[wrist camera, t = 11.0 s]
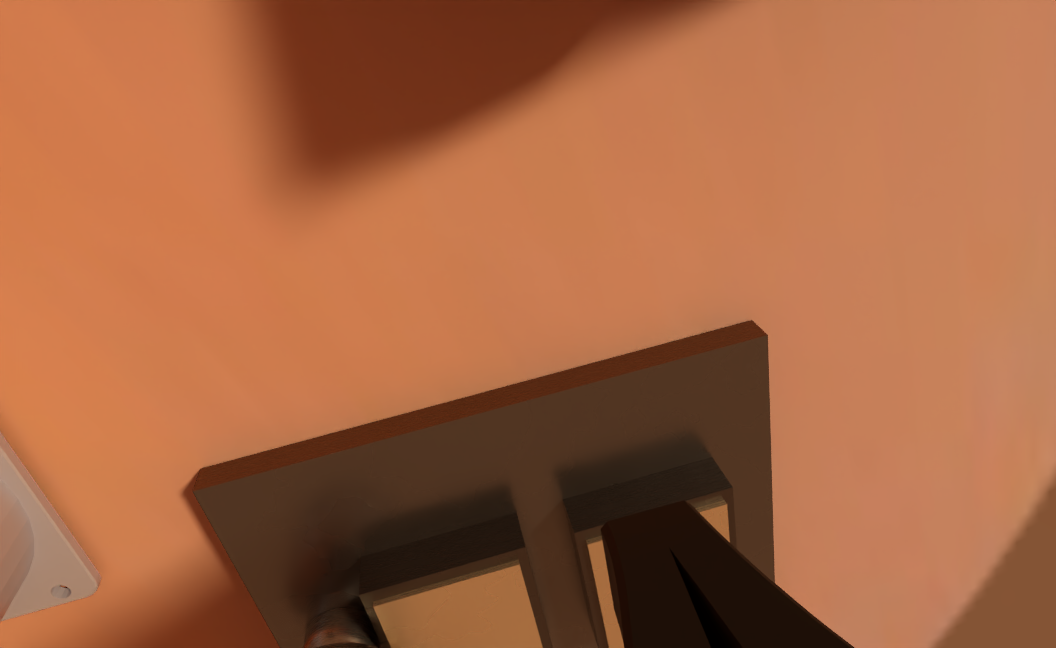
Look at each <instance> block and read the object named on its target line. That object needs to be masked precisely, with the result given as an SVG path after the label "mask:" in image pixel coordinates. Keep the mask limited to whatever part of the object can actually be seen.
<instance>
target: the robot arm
mask: <svg viewBox="0 0 1056 648" xmlns="http://www.w3.org/2000/svg"><path fill="white" fill-rule="evenodd" d="M601 535H602V541H603V547H604V553H605V559H606V565H607V570H608V576H609V582H610V588H611V594H612V600H613V606H614V611H615V614H616V617H617V621H618V624H619V627H620V631H621V635H622V639H623V643H624V648H854V647H853V646H852V645H850V644H849V643H848V642H846V641H845V640H844V639H843V638H841V637H840V636H839V635H837V634H836V633H835V632H833V631H832V630H831V629H829V628H828V627H827V626H826V625H824V624H823V623H822V622H821V621H819V620H818V619H817V618H816V617H814V616H813V615H812V614H811V613H810V612H808V611H807V610H806V609H805V608H803V607H802V606H801V605H800V604H799V603H798V602H796V601H795V600H794V599H793V598H792V597H790V596H789V595H788V594H787V593H786V592H785V591H783V590H782V589H781V588H780V587H779V586H777V585H776V584H775V583H774V582H773V581H772V580H770V579H769V578H768V577H767V576H766V575H765V574H764V573H762V572H761V571H760V570H759V569H758V568H757V567H756V566H755V565H753V564H752V563H751V562H750V561H749V560H748V559H747V558H746V557H745V556H744V555H743V554H741V553H740V552H739V551H738V550H737V549H736V548H735V547H734V546H733V545H732V544H731V543H730V542H729V541H728V540H726V539H725V538H724V537H723V536H722V535H721V534H720V533H719V532H718V531H717V530H716V529H715V528H714V527H713V526H712V525H711V524H710V523H709V522H708V521H707V520H706V519H705V518H704V517H703V516H702V515H701V514H700V513H699V512H698V511H697V510H696V509H695V508H694V507H693V506H692V504H690V503H688V502H686V501H685V500H683V501H679V502H676V503H672V504H669V505H665V506H661V507H658V508H654V509H650V510H647V511H643V512H640V513H636V514H632V515H629V516H625V517H621V518H618V519H614V520H611V521H607V522H606V523H605V524H604V526H603V527H602V528H601ZM100 582H101V576H100V573H99V572H98V571H97V569H96V568H95V566H94V565H93V563H92V562H91V561H90V559H89V558H88V556H87V555H86V553H85V552H84V551H83V549H82V548H81V546H80V545H79V543H78V542H77V541H76V539H75V538H74V536H73V535H72V533H71V532H70V531H69V529H68V528H67V526H66V525H65V523H64V522H63V521H62V519H61V518H60V516H59V515H58V513H57V512H56V511H55V509H54V508H53V506H52V505H51V503H50V502H49V501H48V499H47V498H46V496H45V495H44V493H43V492H42V491H41V489H40V488H39V486H38V485H37V483H36V482H35V481H34V479H33V478H32V476H31V475H30V473H29V472H28V471H27V469H26V468H25V466H24V465H23V463H22V462H21V461H20V459H19V458H18V456H17V455H16V453H15V452H14V451H13V449H12V448H11V446H10V445H9V443H8V442H7V441H6V439H5V438H4V436H3V435H2V433H1V432H0V622H1V621H4V620H8V619H11V618H15V617H18V616H22V615H25V614H29V613H33V612H36V611H40V610H43V609H47V608H50V607H54V606H58V605H61V604H65V603H68V602H72V601H75V600H79V599H83V598H86V597H89V596H91V595H93V594H94V593H95V592H96V591H97V589H98V587H99V584H100ZM59 585H62V586H66V587H68V588H63V587H60V586H59Z"/></svg>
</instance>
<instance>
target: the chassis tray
mask: <svg viewBox="0 0 1056 648" xmlns="http://www.w3.org/2000/svg"><path fill="white" fill-rule="evenodd" d="M193 493H194V495H195V497H196V499H197V500H198V502H199V504H200V506H201V507H202V509H203V511H204V513H205V515H206V516H207V518H208V520H209V522H210V523H211V525H212V527H213V529H214V531H215V532H216V534H217V536H218V538H219V539H220V541H221V543H222V545H223V547H224V548H225V550H226V552H227V554H228V555H229V557H230V559H231V561H232V563H233V564H234V566H235V568H236V570H237V572H238V573H239V575H240V577H241V579H242V580H243V582H244V584H245V586H246V588H247V589H248V591H249V593H250V595H251V596H252V598H253V600H254V602H255V604H256V605H257V607H258V609H259V611H260V612H261V614H262V616H263V618H264V620H265V621H266V623H267V625H268V627H269V629H270V630H271V632H272V634H273V636H274V637H275V639H276V641H277V643H278V645H279V646H280V648H316V647H319V646H323V645H328V644H334V643H349V642H350V643H361V644H368V645H371V646H375V647H378V648H624V643H623V639H622V635H621V631H620V627H619V624H618V621H617V617H616V614H615V611H614V606H613V600H612V594H611V588H610V582H609V576H608V570H607V565H606V559H605V553H604V547H603V541H602V535H601V528H602V527H603V526H604V524H605V523H606V522H607V521H611V520H614V519H618V518H621V517H625V516H629V515H632V514H636V513H640V512H643V511H647V510H650V509H654V508H658V507H661V506H665V505H669V504H672V503H676V502H679V501H683V500H685V501H686V502H688V503H690V504H692V506H693V507H694V508H695V509H696V510H697V511H698V512H699V513H700V514H701V515H702V516H703V517H704V518H705V519H706V520H707V521H708V522H709V523H710V524H711V525H712V526H713V527H714V528H715V529H716V530H717V531H718V532H719V533H720V534H721V535H722V536H723V537H724V538H725V539H726V540H728V541H729V542H730V543H731V544H732V545H733V546H734V547H735V548H736V549H737V550H738V551H739V552H740V553H741V554H743V555H744V556H745V557H746V558H747V559H748V560H749V561H750V562H751V563H752V564H753V565H755V566H756V567H757V568H758V569H759V570H760V571H761V572H762V573H764V574H765V575H766V576H767V577H768V578H769V579H770V580H772V581H773V582H774V583H775V576H774V541H773V505H772V470H771V434H770V399H769V363H768V335H767V334H766V333H765V332H764V331H763V330H762V329H761V328H760V327H759V326H758V325H756V324H755V323H754V322H753V321H752V320H751V321H747V322H743V323H740V324H736V325H732V326H729V327H725V328H721V329H717V330H714V331H710V332H706V333H703V334H699V335H695V336H691V337H688V338H684V339H680V340H677V341H673V342H669V343H665V344H662V345H658V346H654V347H651V348H647V349H643V350H639V351H636V352H632V353H628V354H625V355H621V356H617V357H613V358H610V359H606V360H602V361H599V362H595V363H591V364H588V365H584V366H580V367H576V368H573V369H569V370H565V371H562V372H558V373H554V374H550V375H547V376H543V377H539V378H536V379H532V380H528V381H524V382H521V383H517V384H513V385H510V386H506V387H502V388H498V389H495V390H491V391H487V392H484V393H480V394H476V395H473V396H469V397H465V398H461V399H458V400H454V401H450V402H447V403H443V404H439V405H435V406H432V407H428V408H424V409H421V410H417V411H413V412H409V413H406V414H402V415H398V416H395V417H391V418H387V419H383V420H380V421H376V422H372V423H369V424H365V425H361V426H358V427H354V428H350V429H346V430H343V431H339V432H335V433H332V434H328V435H324V436H320V437H317V438H313V439H309V440H306V441H302V442H298V443H294V444H291V445H287V446H283V447H280V448H276V449H272V450H268V451H265V452H261V453H257V454H254V455H250V456H246V457H242V458H239V459H235V460H231V461H228V462H224V463H220V464H217V465H213V466H209V467H205V468H202V469H200V472H199V475H198V477H197V480H196V483H195V486H194V489H193Z"/></svg>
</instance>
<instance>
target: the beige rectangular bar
mask: <svg viewBox="0 0 1056 648" xmlns="http://www.w3.org/2000/svg"><path fill="white" fill-rule="evenodd" d="M316 648H378V647H375V646H371V645H368V644H361V643H350V642H349V643H334V644H328V645H323V646H319V647H316Z"/></svg>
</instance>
